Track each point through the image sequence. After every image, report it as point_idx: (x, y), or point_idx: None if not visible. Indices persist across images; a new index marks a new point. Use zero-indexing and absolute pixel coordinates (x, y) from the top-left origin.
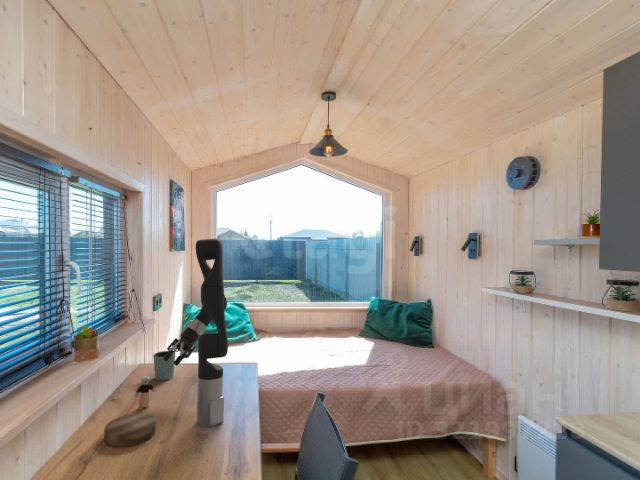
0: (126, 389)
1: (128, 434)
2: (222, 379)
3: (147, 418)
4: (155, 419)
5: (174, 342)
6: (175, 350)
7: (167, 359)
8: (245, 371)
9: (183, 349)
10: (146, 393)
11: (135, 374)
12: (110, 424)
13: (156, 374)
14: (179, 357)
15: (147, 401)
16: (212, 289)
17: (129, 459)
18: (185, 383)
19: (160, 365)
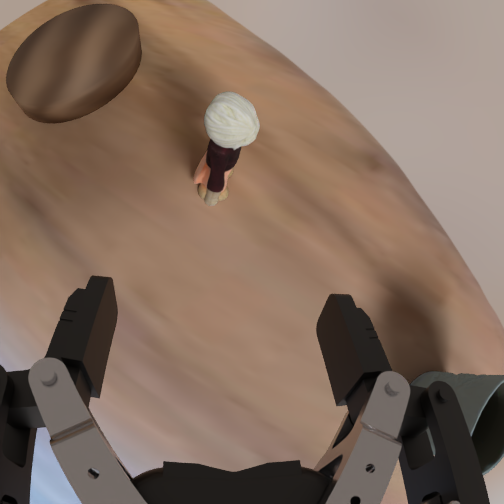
0: (426, 244)
1: (35, 32)
2: None
3: (45, 85)
4: (18, 99)
5: (450, 497)
6: (330, 454)
7: (324, 339)
8: None
9: (70, 473)
10: (205, 155)
11: (498, 335)
12: (120, 16)
13: (442, 374)
14: (66, 350)
15: (195, 172)
16: None
17: (12, 44)
18: (308, 448)
19: (457, 391)
